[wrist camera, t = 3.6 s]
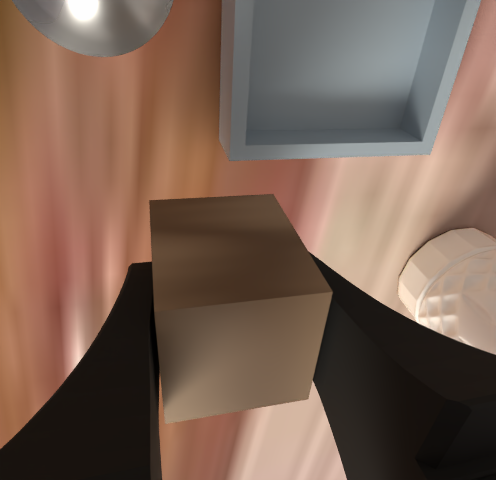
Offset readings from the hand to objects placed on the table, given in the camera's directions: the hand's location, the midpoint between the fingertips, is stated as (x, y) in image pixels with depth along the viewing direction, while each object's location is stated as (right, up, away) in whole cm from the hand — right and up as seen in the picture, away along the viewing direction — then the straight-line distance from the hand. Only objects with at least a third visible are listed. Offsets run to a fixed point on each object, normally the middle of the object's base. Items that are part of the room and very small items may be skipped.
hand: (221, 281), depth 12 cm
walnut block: (0, +1, +1) cm, 2 cm away
